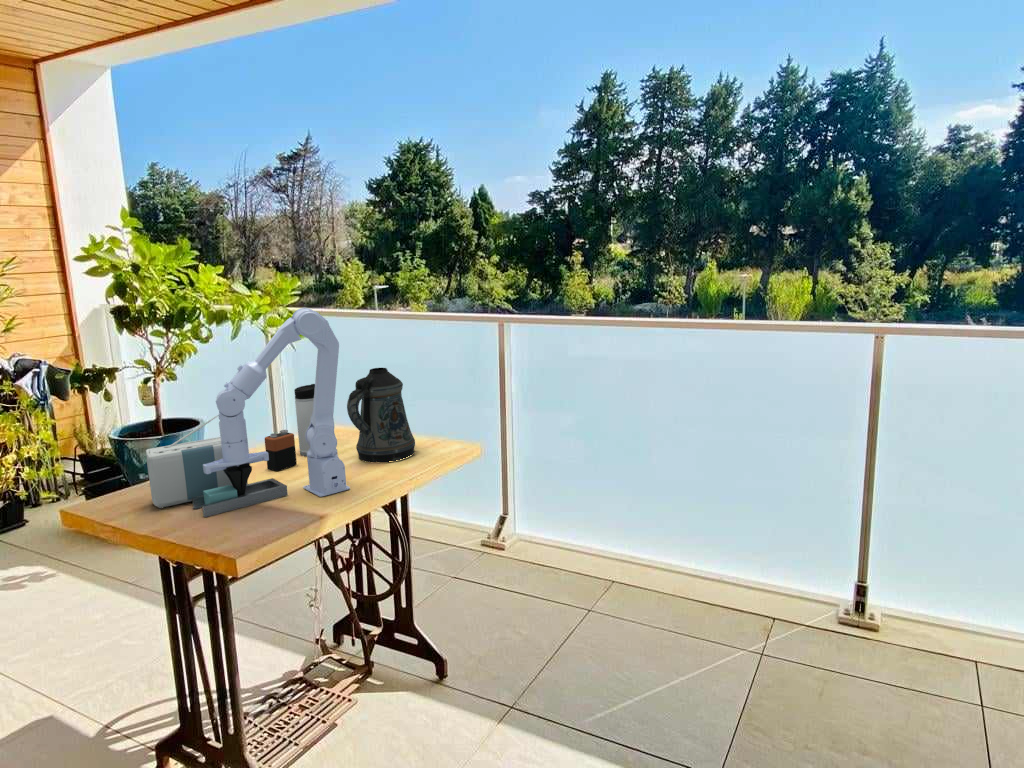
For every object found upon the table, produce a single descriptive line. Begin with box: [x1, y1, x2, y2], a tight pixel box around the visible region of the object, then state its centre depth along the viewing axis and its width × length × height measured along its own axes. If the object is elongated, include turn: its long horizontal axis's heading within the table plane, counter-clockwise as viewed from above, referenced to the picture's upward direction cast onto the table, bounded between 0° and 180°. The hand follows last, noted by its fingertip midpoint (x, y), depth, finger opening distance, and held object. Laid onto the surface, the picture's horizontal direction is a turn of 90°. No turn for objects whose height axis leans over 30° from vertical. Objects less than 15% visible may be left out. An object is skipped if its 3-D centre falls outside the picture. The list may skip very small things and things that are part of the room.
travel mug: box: [293, 383, 315, 457], centre depth 201 cm, size 6×7×20 cm
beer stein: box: [346, 367, 416, 463], centre depth 195 cm, size 16×19×25 cm
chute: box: [191, 477, 289, 518], centre depth 164 cm, size 19×8×2 cm, turn 132°
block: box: [203, 485, 238, 504], centre depth 161 cm, size 5×6×4 cm
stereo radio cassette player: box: [145, 414, 249, 509], centre depth 167 cm, size 21×8×20 cm, turn 125°
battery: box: [264, 429, 298, 472], centre depth 189 cm, size 4×7×10 cm, turn 146°
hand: (240, 496), depth 164 cm, fingers closed
